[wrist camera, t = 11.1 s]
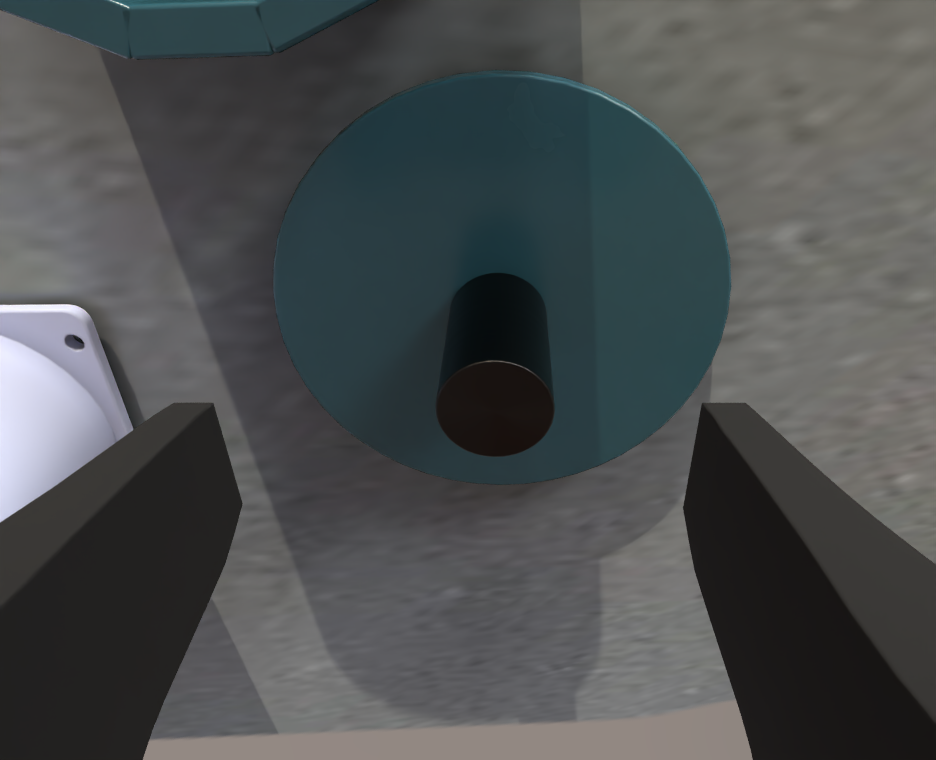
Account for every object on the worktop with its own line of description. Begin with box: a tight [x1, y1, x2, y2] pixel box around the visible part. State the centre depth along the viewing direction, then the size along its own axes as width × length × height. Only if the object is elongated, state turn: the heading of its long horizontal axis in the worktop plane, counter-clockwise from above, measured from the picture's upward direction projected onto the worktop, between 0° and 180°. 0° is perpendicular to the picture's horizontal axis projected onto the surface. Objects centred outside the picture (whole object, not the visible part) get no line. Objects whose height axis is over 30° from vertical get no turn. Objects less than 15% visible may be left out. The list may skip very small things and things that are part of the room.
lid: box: [273, 70, 731, 485], centre depth 16 cm, size 11×11×5 cm
